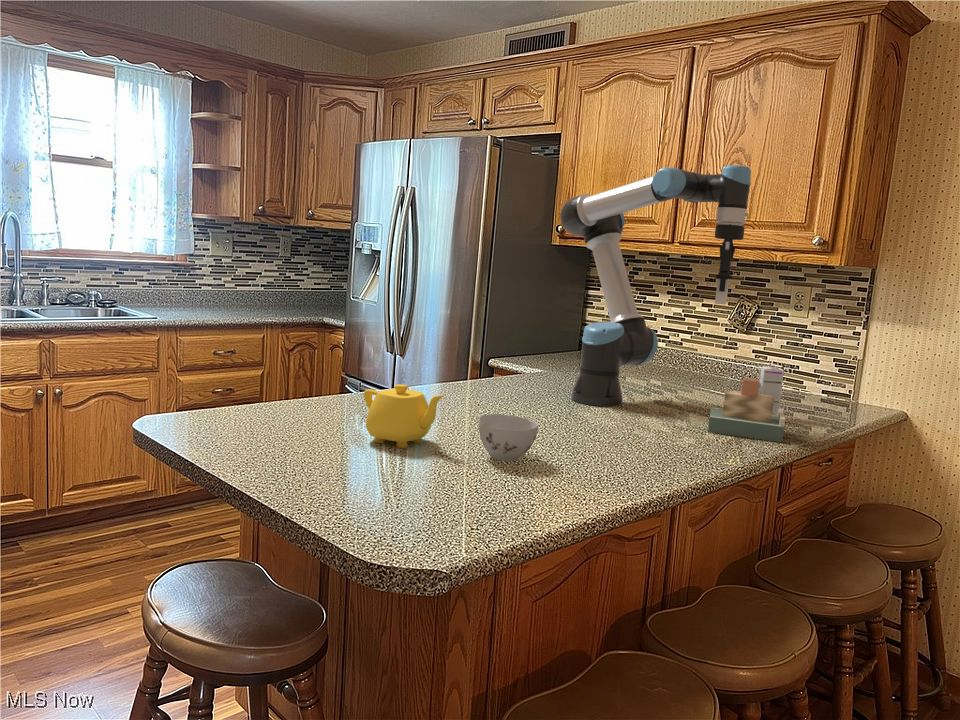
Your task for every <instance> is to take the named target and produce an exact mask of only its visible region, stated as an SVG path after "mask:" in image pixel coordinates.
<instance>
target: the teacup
mask: <svg viewBox="0 0 960 720" xmlns="http://www.w3.org/2000/svg"><path fill="white" fill-rule="evenodd" d="M538 431H539V423H538V422H536V421H535V420H530V419H529V418H526V417H522V416H519V415H518V416H515V415H507V414H501V413H495V414H494V413H493V414H492V413H490V414H489V413H488V414H483V415H481V416H479V418H478V433H479V438H480V440H481V443H482V446H483V447H484V449H485V450H486V451H487V452H488V454H489V455H490V457H491V458H492V459H494V460H497V461H502V462H506V463H507V462H508V463H510V462H512V463H513V462H518V461H519V460H520V458H522V457H523V456H524V455H525V454H526V453H527V452H528V451H529V450H531V448H532V446H533V444H534V442H535V440H536V437H537V435H538Z"/></svg>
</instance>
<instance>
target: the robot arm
mask: <svg viewBox="0 0 960 720" xmlns="http://www.w3.org/2000/svg"><path fill="white" fill-rule="evenodd" d="M751 178H752V169H751V168H750V167H749V166H745V165H736V164H735V165H734V164H731V165H730V164H729V165H725V166H723V167H722V170H721V172H720V173H719V174H703V173H698V172H694V171H688V170H685V169H681V168H678V167H674V166H673V167H669V166H668V167H662V168H660V169H658V170H657V171H656V173H654V175H651V176H649V177H645V178H643V179H639V180H636V181H633V182H630V183H626V184H624V185H620V186H616V187H614V188H611V189H610V188H609V189H608V190H604V191H601V192H598V193H595V194H592V195H591V194H589V193H583V194H581V195H578V196H575V197H572V198H570V199H568V200H567V201H566V202H565V203H563V205H562V207H561V210H560V212H559V214H560V215H559V219H560V223H561V225H562V227H563V229H564V230H565V231H566V232H568V233H569V234H571V235H573V236H579V237H583V239H584V243H585V246H586V247H585V248H587V249H589V250H590V251H591V252H592V255H593V258H594V261H595V266H596V270H597V273H598V278H599V282H600V286H601V290H602V293H603V297H604V300H605V305H606V308H607V312H608V315H609V320H610V321H609V322H608V321H606V322H605V321H604V322H601V321H599V322H592V323H589V324H587V325H586V326H585V327H584V328H583V332H582V333H583V334H582V335H583V336H582V337H581V341H582V342H581V351H580V352H581V353H580V365H579V373H578V376H577V378H576V381H575V383H574V386H573V389H572V390H571V396H570V398H571V400H572V401H574V402H576V403H580V404H583V405H584V404H585V405H589V406H596V407H597V406H598V407H619V406H622V405H623V397H624V396H623V392H622V388H621V383H620V369H621V366H639V365H645V364H647V363H649V362H650V361H651V360H652V359H653V358H654V357H655V354H656V353H657V350H658V346H659V339H658V336H657V333H656V332H655V331H654V329H651V328H650V326H647V323H646V319H645V317H644V316H643V315H640V314H639V313H638V309H637V305H636V303H635V302H636V301H635V299H634V295H633V291H632V287H631V283H630V279H629V277H628V273H627V269H626V265H625V260H624V257H623V254H622V250H621V246H620V242H621V239H622V238H623V235H622V233H623V231H624V226H625V224H626V220H625V215H624V213H628V212H632V211H635V210H638V209H642V208H645V207H649V206H651V205H652V206H653V205H655V204H659V203H663V202H666V201H670V200H673V199H678V200H679V199H680V200H683V201H685V202H687V203H694V204H698V203H718V205H717V206H718V207H717V211H716V212H717V213H716V218H715V219H716V221H715V222H716V223H717V224H716V225H715V228H714V229H715V230H714V238H715V239H717V240H723V241H722V245H719V260H720V261H719V262H720V264H719V270H718V274H716V275H715V279H717V283H716V289H715V290H716V292H715V299H714V304H716V305H717V304H718V305H726V303H727V302H728V294H729V293H728V292H729V285H730V280H732V277H733V275H731V263H732V262H733V260H734V255H735V252H736V246H734V243H733V242H734V241H743V239H744V237H745V229H746V228H745V226H743V225H745V224H746V219H747V218H746V217H749V215H750V214H749V212H747V211H748V210H747V209H748V203H749V202H748V201H749V195H750V187H751V184H752V183H751Z"/></svg>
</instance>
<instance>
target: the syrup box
mask: <svg viewBox="0 0 960 720" xmlns="http://www.w3.org/2000/svg"><path fill="white" fill-rule="evenodd" d="M784 373H785V370H784V369H782V368H781V367H776V366H763V365H762V366H761V367H760V373H759V374H760V376H759V389H758V394H762V395H770V396H773V397H774V405H773V412H772V415H773V416H777V415H778V409H781V402H782V401H781V399H782V392H783V391H782V390H783V383H784V381H783V380H784Z"/></svg>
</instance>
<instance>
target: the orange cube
mask: <svg viewBox="0 0 960 720" xmlns="http://www.w3.org/2000/svg"><path fill="white" fill-rule="evenodd" d="M759 382H760V379H759V378H758V379H757V378H750V377H749V378H748V377H743V378H742V384H741V391H740V392H741V395H746V396H754V397H758V391H759Z"/></svg>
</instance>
